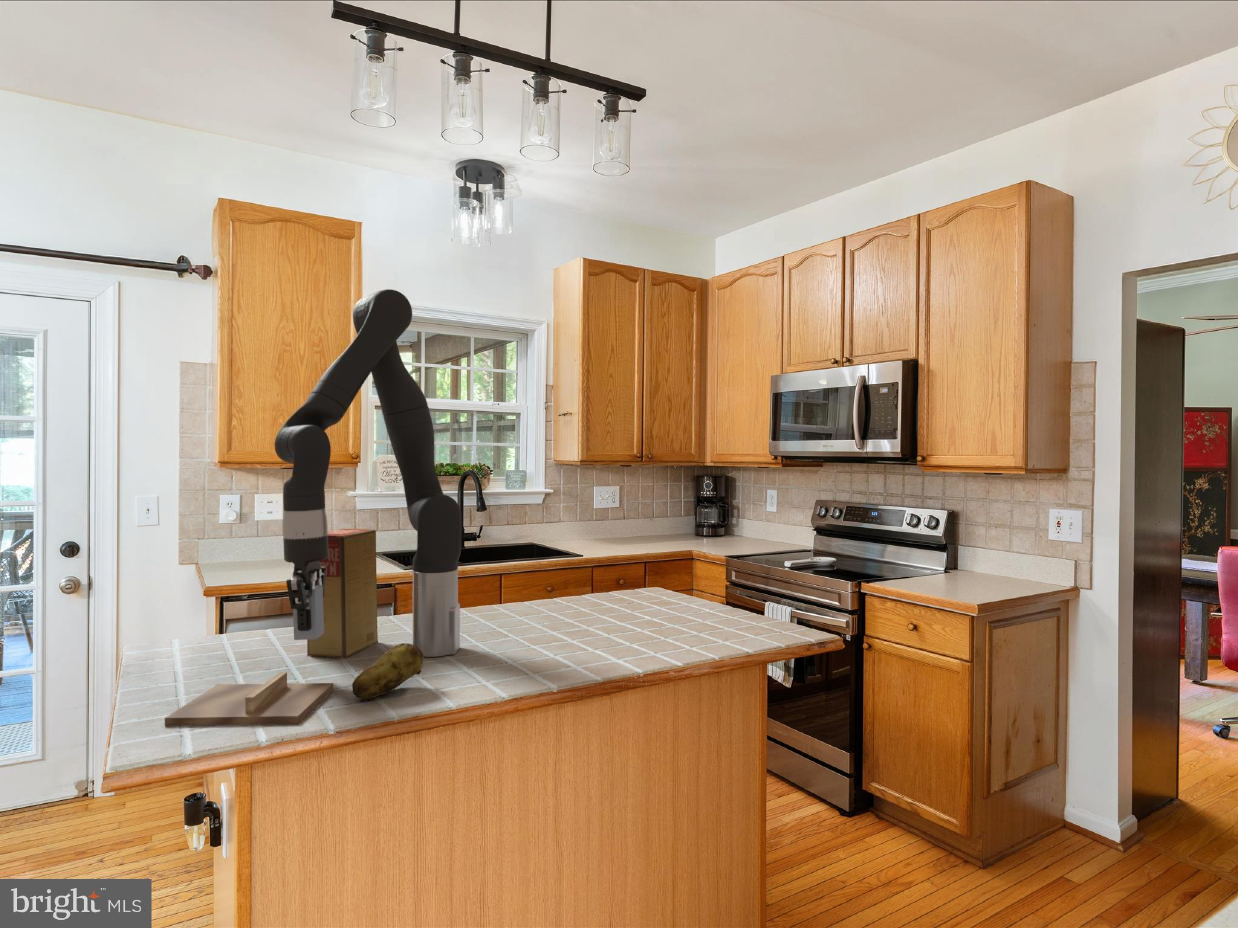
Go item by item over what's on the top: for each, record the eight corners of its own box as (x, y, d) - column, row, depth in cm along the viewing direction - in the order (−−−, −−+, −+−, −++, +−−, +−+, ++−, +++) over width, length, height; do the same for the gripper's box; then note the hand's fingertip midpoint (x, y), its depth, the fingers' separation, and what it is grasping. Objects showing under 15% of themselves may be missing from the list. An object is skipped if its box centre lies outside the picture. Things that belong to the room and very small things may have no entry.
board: (333, 689, 128) (333, 668, 128) (297, 723, 112) (297, 699, 112) (217, 691, 128) (217, 670, 127) (164, 725, 112) (164, 701, 111)
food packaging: (341, 639, 163) (341, 527, 162) (380, 641, 161) (379, 528, 160) (304, 655, 150) (303, 534, 149) (345, 658, 148) (344, 535, 147)
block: (324, 633, 136) (322, 584, 136) (316, 639, 132) (314, 588, 132) (302, 634, 136) (300, 585, 135) (294, 639, 132) (292, 589, 131)
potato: (343, 693, 127) (343, 647, 127) (416, 680, 134) (416, 636, 134) (356, 707, 120) (356, 658, 120) (432, 692, 127) (431, 647, 127)
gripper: (313, 538, 126) (316, 636, 127) (339, 528, 141) (342, 617, 141) (268, 540, 126) (272, 638, 127) (299, 530, 140) (302, 618, 141)
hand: (309, 626), depth 134 cm, fingers closed on block, 4 cm apart
